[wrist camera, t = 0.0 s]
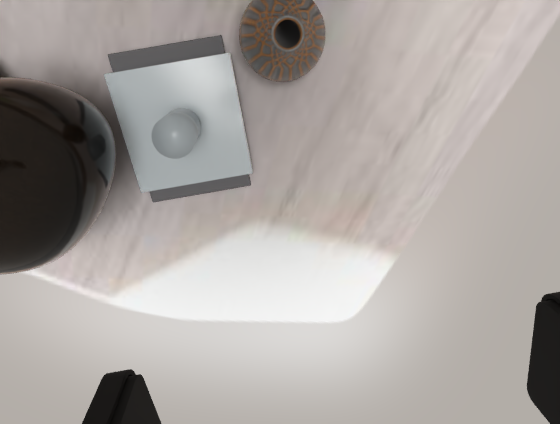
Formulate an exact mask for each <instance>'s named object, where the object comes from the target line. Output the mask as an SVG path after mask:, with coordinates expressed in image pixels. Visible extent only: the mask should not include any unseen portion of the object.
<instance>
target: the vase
mask: <svg viewBox="0 0 560 424" xmlns="http://www.w3.org/2000/svg"><path fill="white" fill-rule="evenodd" d="M239 40H240V46H241V50H242V53H243V55H244V57H245V59H246V61H247V62H248V64H249V65H250V66H251V68H252V69H253V70H254V71H255V72H257V73H258V74H259V75H261V76H263V77H264V78H267V79H269V80H273V81H278V82H286V81H292V80H295V79H298V78H300V77H302V76H304V75H305V74H306V73H308V72H309V71H310V70H311V69H312V68H313V67H314V66H315V64H316V63H317V62H318V60H319V58H320V56H321V54H322V51H323V48H324V44H325V25H324V20H323V17H322V15H321V12H320V10H319V9H318V7H317V6H316V4H315V3H314V2H313V1H312V0H252V2H251V3H250V4H249V5H248V7H247V8H246V10H245V12H244V14H243V17H242V19H241V23H240V29H239Z"/></svg>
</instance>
